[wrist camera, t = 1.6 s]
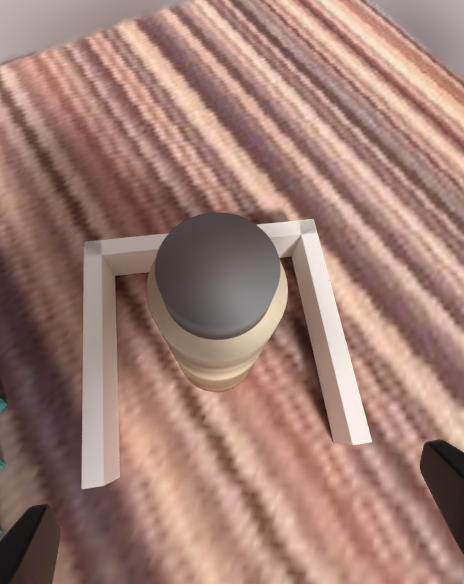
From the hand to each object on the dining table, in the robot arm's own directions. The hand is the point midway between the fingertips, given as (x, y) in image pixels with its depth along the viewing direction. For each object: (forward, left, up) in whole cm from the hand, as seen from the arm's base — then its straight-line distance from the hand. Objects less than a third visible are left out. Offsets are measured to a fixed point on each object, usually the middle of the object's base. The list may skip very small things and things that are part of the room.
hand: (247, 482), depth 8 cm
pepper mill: (+5, -3, -12) cm, 13 cm away
